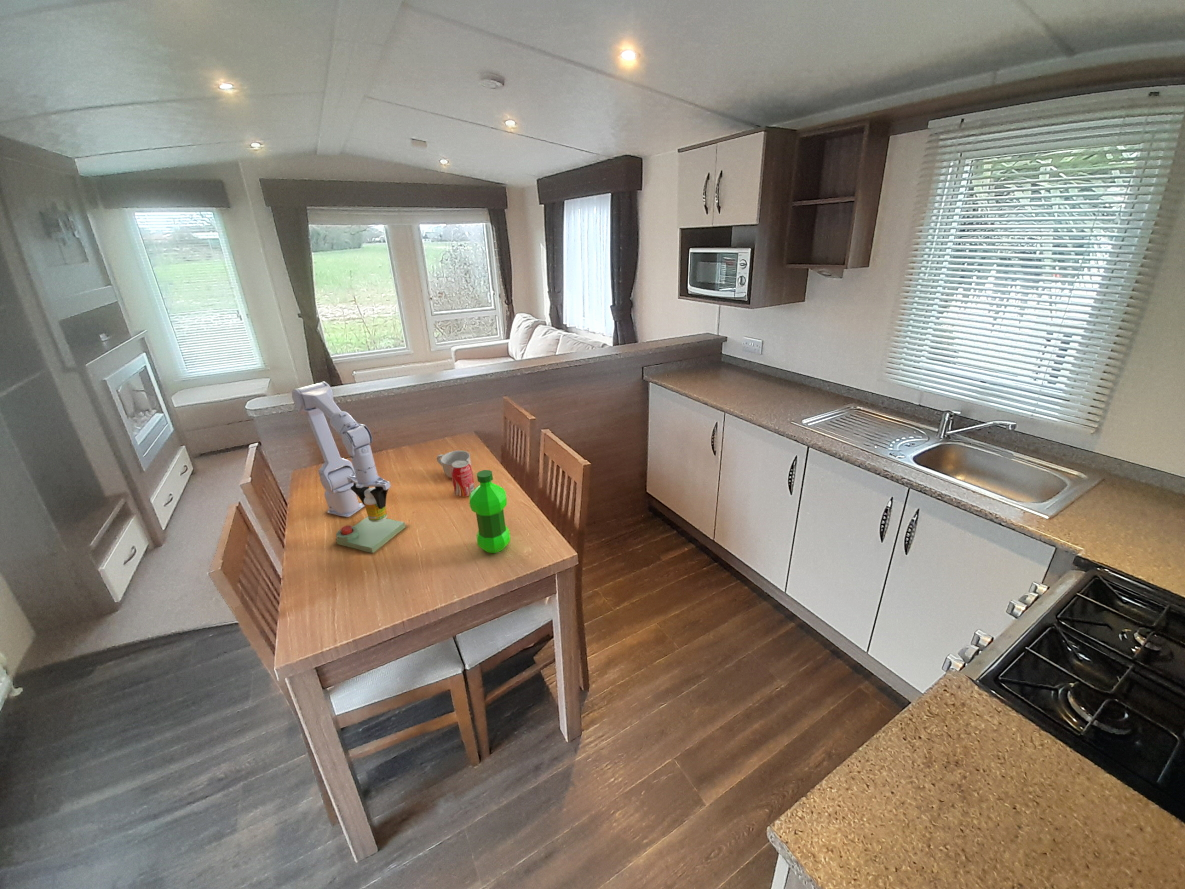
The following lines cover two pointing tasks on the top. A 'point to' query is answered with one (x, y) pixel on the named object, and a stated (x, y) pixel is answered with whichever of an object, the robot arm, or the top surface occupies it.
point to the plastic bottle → (489, 513)
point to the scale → (370, 534)
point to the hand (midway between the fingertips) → (374, 505)
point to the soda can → (462, 478)
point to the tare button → (346, 530)
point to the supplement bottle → (373, 507)
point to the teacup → (452, 460)
